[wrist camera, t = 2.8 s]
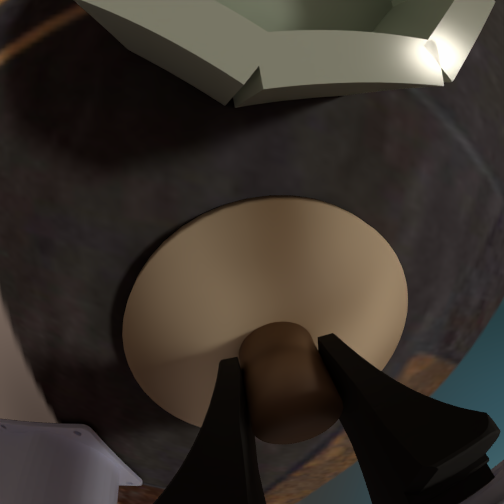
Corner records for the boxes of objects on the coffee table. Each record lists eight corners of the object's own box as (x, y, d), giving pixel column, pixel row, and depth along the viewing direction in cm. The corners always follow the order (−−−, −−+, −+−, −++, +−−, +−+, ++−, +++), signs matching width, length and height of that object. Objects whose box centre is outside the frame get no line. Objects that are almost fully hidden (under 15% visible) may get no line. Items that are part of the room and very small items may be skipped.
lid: (180, 436, 15) (182, 502, 11) (81, 239, 10) (25, 303, 6) (386, 385, 15) (419, 440, 11) (401, 172, 10) (482, 202, 7)
